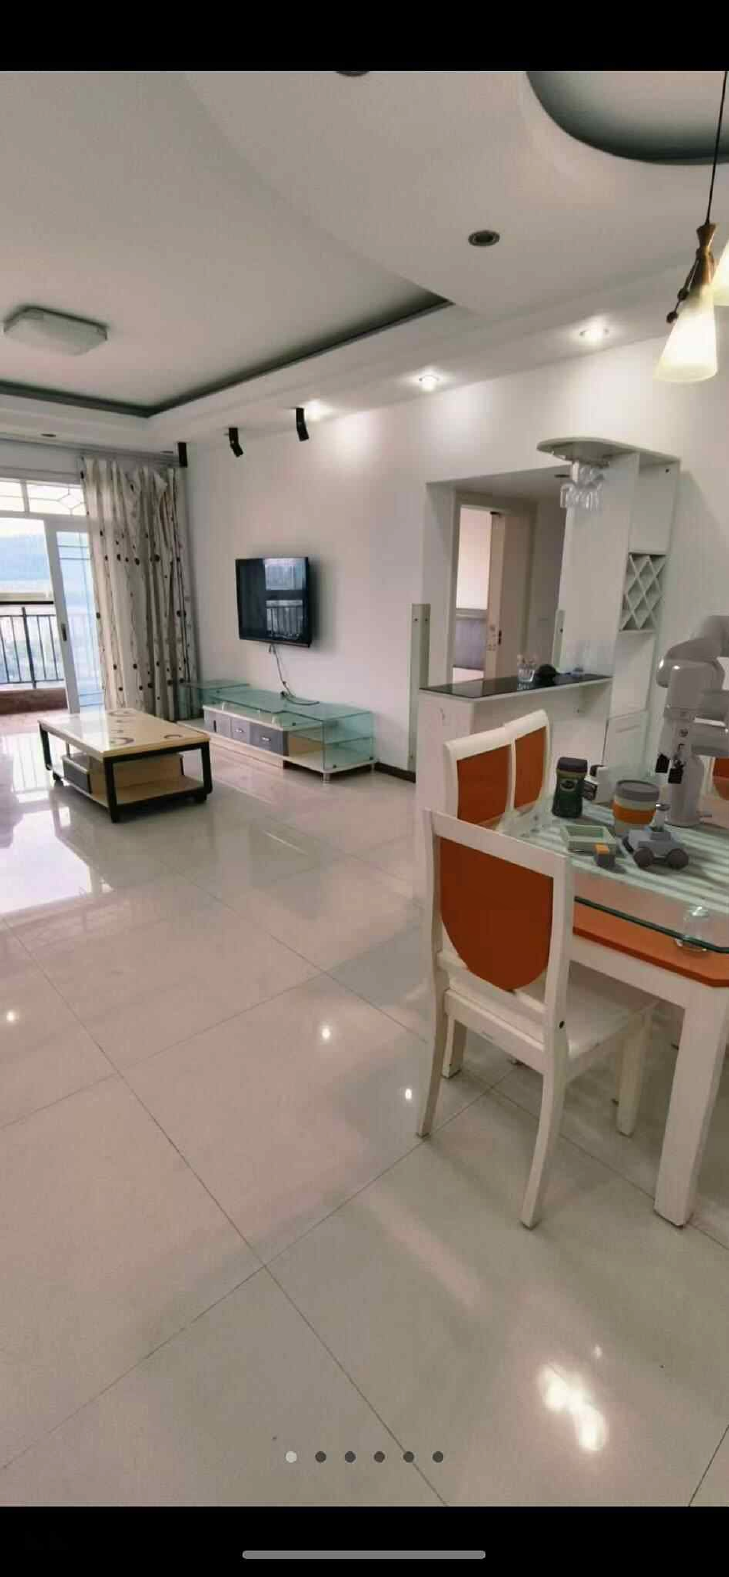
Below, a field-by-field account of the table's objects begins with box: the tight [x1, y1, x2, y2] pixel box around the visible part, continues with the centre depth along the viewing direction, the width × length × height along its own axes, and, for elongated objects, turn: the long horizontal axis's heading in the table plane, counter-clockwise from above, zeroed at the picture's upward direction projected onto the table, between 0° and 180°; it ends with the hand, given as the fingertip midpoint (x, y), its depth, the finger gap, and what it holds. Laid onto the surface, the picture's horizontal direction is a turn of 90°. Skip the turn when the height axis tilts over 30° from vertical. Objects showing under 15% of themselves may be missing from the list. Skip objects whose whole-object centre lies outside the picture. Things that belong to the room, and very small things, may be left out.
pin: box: [652, 802, 670, 832], centre depth 178 cm, size 4×4×9 cm
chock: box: [592, 844, 617, 868], centre depth 177 cm, size 4×4×4 cm
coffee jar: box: [550, 756, 589, 818], centre depth 210 cm, size 10×8×19 cm
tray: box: [558, 823, 618, 854], centre depth 190 cm, size 13×13×3 cm
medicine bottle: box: [583, 764, 614, 805], centre depth 225 cm, size 7×7×12 cm
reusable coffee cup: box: [612, 779, 661, 838], centre depth 196 cm, size 13×13×15 cm
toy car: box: [621, 825, 690, 870], centre depth 180 cm, size 14×12×8 cm
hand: (667, 777), depth 174 cm, fingers open, 9 cm apart
